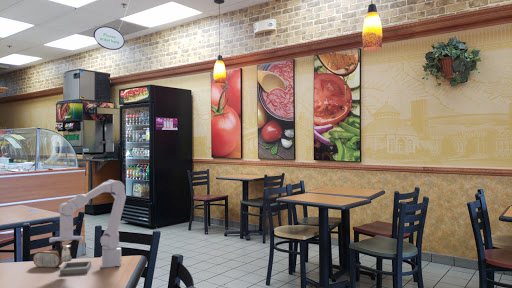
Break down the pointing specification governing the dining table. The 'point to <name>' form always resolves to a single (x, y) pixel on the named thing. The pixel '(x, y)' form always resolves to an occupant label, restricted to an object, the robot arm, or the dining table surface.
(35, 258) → the tin
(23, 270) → the dining table surface
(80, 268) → the parts tray
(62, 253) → the handled mug
